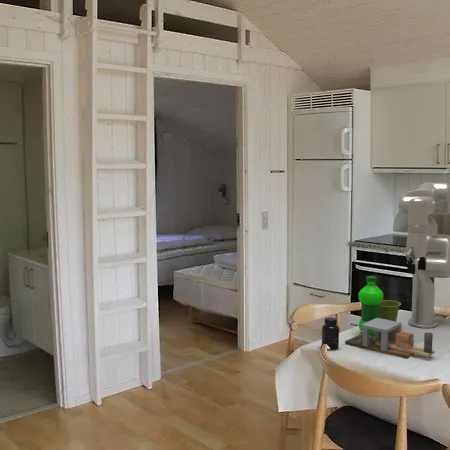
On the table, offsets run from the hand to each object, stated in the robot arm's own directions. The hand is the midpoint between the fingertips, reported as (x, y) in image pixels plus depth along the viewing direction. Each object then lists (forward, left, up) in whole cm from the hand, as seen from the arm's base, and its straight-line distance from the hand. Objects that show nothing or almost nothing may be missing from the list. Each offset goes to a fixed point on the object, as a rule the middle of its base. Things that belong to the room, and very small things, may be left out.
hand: (416, 271), depth 238 cm
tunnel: (+11, -9, -29) cm, 32 cm away
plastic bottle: (-2, -21, -31) cm, 37 cm away
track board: (+11, -8, -30) cm, 33 cm away
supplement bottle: (+25, -24, -31) cm, 46 cm away
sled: (+11, +1, -29) cm, 31 cm away
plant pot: (-15, -20, -31) cm, 39 cm away
